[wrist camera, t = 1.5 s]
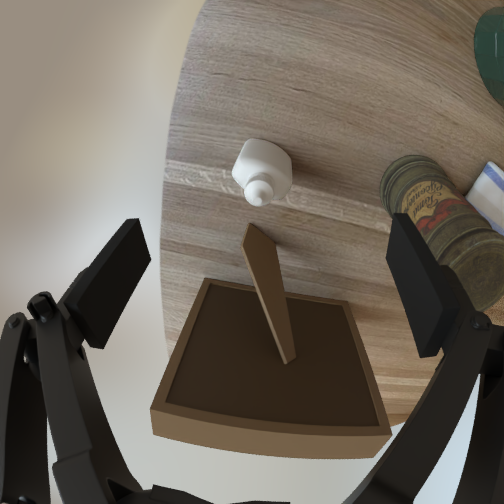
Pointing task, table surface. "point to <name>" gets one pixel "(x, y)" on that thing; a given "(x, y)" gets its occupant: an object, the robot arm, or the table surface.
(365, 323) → the table surface
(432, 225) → the container
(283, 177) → the eye dropper bottle
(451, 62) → the table surface
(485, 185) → the dish towel
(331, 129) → the table surface
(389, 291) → the table surface
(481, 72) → the pot
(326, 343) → the photo frame
